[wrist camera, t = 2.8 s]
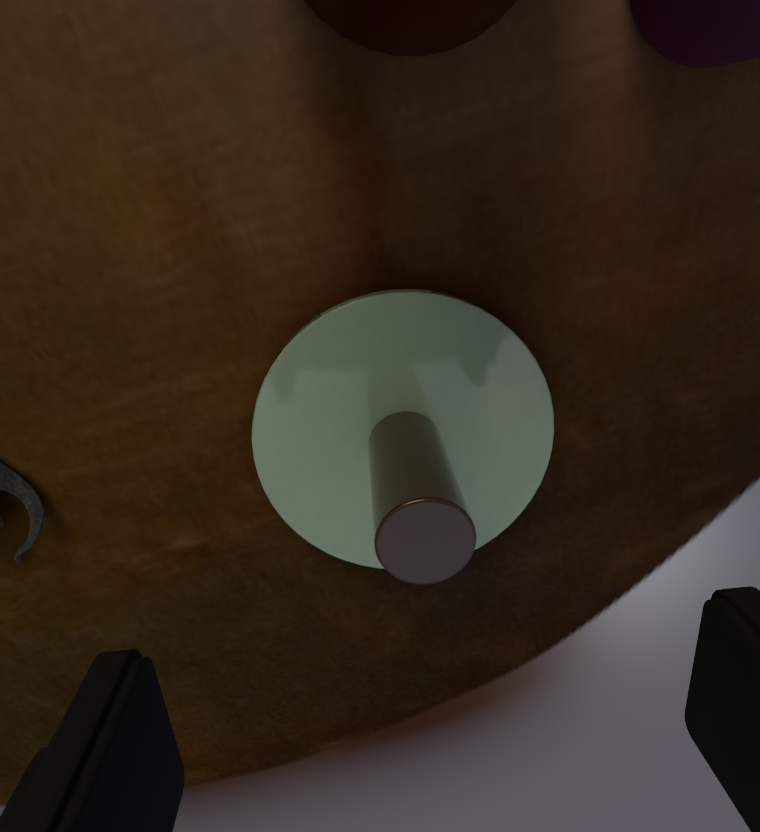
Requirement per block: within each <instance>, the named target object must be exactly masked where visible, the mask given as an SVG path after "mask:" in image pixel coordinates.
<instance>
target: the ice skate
mask: <svg viewBox="0 0 760 832" xmlns="http://www.w3.org/2000/svg"><path fill="white" fill-rule="evenodd" d="M2 490H3V491H6V492H9V493H10V494H12V495H14V496H15V497H17V498H18V499H19V500H20V501H21V502H22V503H23V504H24V505H25V507H26V509H27V512H28V514H29V518H30V531H29V535H28V537H27V539H26V541H25V542H24V543H23V544H22V545H21V546H20V547H19V548H18V550H17V551H16V553H15V555H14V560H15V561H16V562H20V561H21V560H22V558H23V554H24V553H25V552H26V551H27V550H29V549H30V548H31V547H32V546H33V545H34V544H35V543H36V541H37V540H38V538H39V536H40V535H41V532H42V529H43V526H44V522H45V508H44V505H43V502H42V500H41V498H40V496H39V494H38V493H37V492H36V490H35V489H34V488H33V487H32V486H31V485H30V484H29V483H28V482H27V481H26V480H25V479H24V478H23V477H22V476H21V475H19V474H18V473H17V472H15V471H14V470H12V469H11V468H10V467H8V466H7V465H5V464H4V463H2V462H1V461H0V492H1V491H2ZM3 524H4V520H3V517H2V516H1V515H0V528H1V527H2V526H3Z"/></svg>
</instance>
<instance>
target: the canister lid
mask: <svg viewBox="0 0 760 832" xmlns="http://www.w3.org/2000/svg"><path fill="white" fill-rule="evenodd" d="M553 437H554V411H553V405H552V400H551V394H550V391H549V388H548V385H547V382H546V379H545V376H544V374H543V372H542V370H541V368H540V366H539V364H538V362H537V360H536V359H535V357H534V356H533V355H532V353H531V352H530V350H529V349H528V347H527V346H526V345H525V343H524V342H523V341H522V340H521V339H520V338H519V337H518V336H517V335H516V334H515V333H514V332H513V331H512V330H511V329H510V328H509V327H508V326H506V325H505V324H504V323H503V322H501V321H500V320H499V319H498V318H496V317H495V316H494V315H493V314H491V313H489V312H487V311H486V310H484V309H482V308H481V307H479V306H477V305H475V304H473V303H471V302H468V301H466V300H463V299H461V298H458V297H456V296H452V295H448V294H444V293H440V292H436V291H428V290H420V289H392V290H386V291H379V292H372V293H369V294H365V295H362V296H359V297H355V298H352V299H349V300H347V301H345V302H343V303H340V304H338V305H336V306H333V307H332V308H330V309H328V310H327V311H325V312H323V313H322V314H320V315H318V316H317V317H315V318H314V319H313V320H311V321H310V322H309V323H308V324H306V325H305V326H304V327H303V328H301V329H300V330H299V331H298V332H297V333H296V334H295V335H294V336H293V337H292V338H291V339H290V340H289V342H288V343H287V344H286V345H285V346H284V347H283V349H282V350H281V351H280V353H279V354H278V356H277V357H276V359H275V360H274V361H273V363H272V365H271V367H270V369H269V371H268V373H267V375H266V377H265V379H264V381H263V383H262V386H261V389H260V392H259V394H258V397H257V400H256V404H255V409H254V414H253V420H252V449H253V458H254V462H255V466H256V470H257V474H258V477H259V479H260V482H261V484H262V487H263V489H264V491H265V493H266V495H267V497H268V498H269V500H270V502H271V503H272V505H273V507H274V508H275V509H276V511H277V512H278V513H279V515H280V516H281V517H282V518H283V520H284V521H285V522H286V523H287V524H288V525H289V526H290V527H291V528H292V529H293V530H294V531H295V532H296V533H297V534H299V535H300V536H301V537H302V538H304V539H305V540H306V541H308V542H309V543H310V544H312V545H314V546H315V547H317V548H319V549H320V550H322V551H324V552H326V553H328V554H330V555H332V556H335V557H337V558H339V559H341V560H344V561H348V562H351V563H354V564H358V565H362V566H368V567H373V568H381V569H386V570H387V571H388V572H389V573H390V574H391V575H392V576H394V577H396V578H397V579H400V580H402V581H404V582H408V583H412V584H433V583H437V582H441V581H444V580H446V579H448V578H450V577H452V576H454V575H455V574H457V573H458V572H459V571H461V570H462V569H463V568H464V567H465V566H466V564H467V563H468V562H469V560H470V558H471V557H472V554H473V552H474V550H476V549H478V548H480V547H481V546H483V545H484V544H486V543H488V542H489V541H491V540H492V539H494V538H495V537H496V536H498V535H499V534H500V533H501V532H502V531H504V530H505V529H506V528H507V527H508V526H509V525H510V524H511V523H512V522H513V521H514V520H515V519H516V518H517V517H518V516H519V515H520V514H521V513H522V511H523V510H524V509H525V507H526V506H527V505H528V503H529V502H530V501H531V499H532V498H533V496H534V494H535V493H536V491H537V489H538V487H539V485H540V484H541V481H542V479H543V477H544V474H545V472H546V469H547V467H548V463H549V459H550V455H551V451H552V446H553Z"/></svg>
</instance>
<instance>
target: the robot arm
mask: <svg viewBox="0 0 760 832" xmlns="http://www.w3.org/2000/svg"><path fill="white" fill-rule="evenodd" d="M685 722H686V726H687V729H688V731H689V734H690V736H691V738H692V739H693V741H694V742H695V744H696V745H697V747H698V749H699V750H700V752H701V753H702V755H703V757H704V758H705V760H706V761H707V763H708V764H709V766H710V768H711V769H712V771H713V772H714V774H715V775H716V777H717V778H718V780H719V782H720V783H721V785H722V786H723V788H724V790H725V791H726V793H727V794H728V796H729V797H730V799H731V800H732V802H733V804H734V805H735V807H736V808H737V810H738V812H739V813H740V815H741V816H742V818H743V819H744V821H745V823H746V824H747V826H748V827H749V829H750V830H751V832H760V591H759V590H758V589H757V588H754V587H740V588H731V589H722V590H716V591H715V592H714V593H713V595H712V598H711V600H707V601H706V602H705V603H704V606H703V612H702V617H701V624H700V629H699V635H698V640H697V646H696V651H695V657H694V663H693V668H692V674H691V680H690V685H689V692H688V698H687V703H686V708H685ZM183 788H184V768H183V764H182V760H181V757H180V754H179V750H178V747H177V743H176V740H175V737H174V733H173V730H172V726H171V723H170V720H169V716H168V713H167V709H166V706H165V703H164V699H163V696H162V692H161V689H160V686H159V682H158V679H157V675H156V672H155V669H154V665H153V662H152V660H151V659H150V658H149V657H144V658H142V655H141V653H140V651H139V650H137V649H131V650H121V651H111V652H102V653H100V654H99V655H97V657H96V658H95V660H94V661H93V663H92V665H91V667H90V669H89V671H88V673H87V674H86V676H85V678H84V680H83V682H82V684H81V686H80V688H79V689H78V691H77V693H76V695H75V697H74V699H73V701H72V703H71V704H70V706H69V708H68V710H67V712H66V714H65V716H64V718H63V720H62V721H61V723H60V725H59V727H58V729H57V731H56V733H55V735H54V736H53V738H52V740H51V742H50V744H49V746H48V747H44V748H43V749H42V750H40V751H39V752H38V753H37V754H36V755H35V756H34V758H33V759H32V761H31V762H30V764H29V765H28V767H27V769H26V771H25V773H24V774H23V776H22V778H21V780H20V782H19V784H18V785H17V787H16V789H15V791H14V793H13V795H12V796H11V798H10V800H9V802H8V804H7V805H6V807H5V809H4V811H3V813H2V815H1V816H0V832H172V830H173V827H174V823H175V819H176V816H177V812H178V808H179V804H180V801H181V797H182V793H183Z"/></svg>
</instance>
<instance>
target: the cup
mask: <svg viewBox="0 0 760 832" xmlns="http://www.w3.org/2000/svg"><path fill="white" fill-rule="evenodd" d="M630 1H631V7H632V10H633V13H634V15H635V18H636V21H637V23H638V26H639V28H640V29H641V31H642V32H643V34H644V35H645V37H646V38H647V40H648V42H649V43H650V44H651V45H652V46H653V47H654V48H655V49H656V50H658V51H659V52H660V53H661V54H662V55H664V56H665V57H667V58H669V59H670V60H672V61H674V62H676V63H679V64H682V65H686V66H689V67H697V68H711V67H716V66H722V65H727V64H731V63H736V62H740V61H745V60H749V59H754V58H758V57H760V0H630Z"/></svg>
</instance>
